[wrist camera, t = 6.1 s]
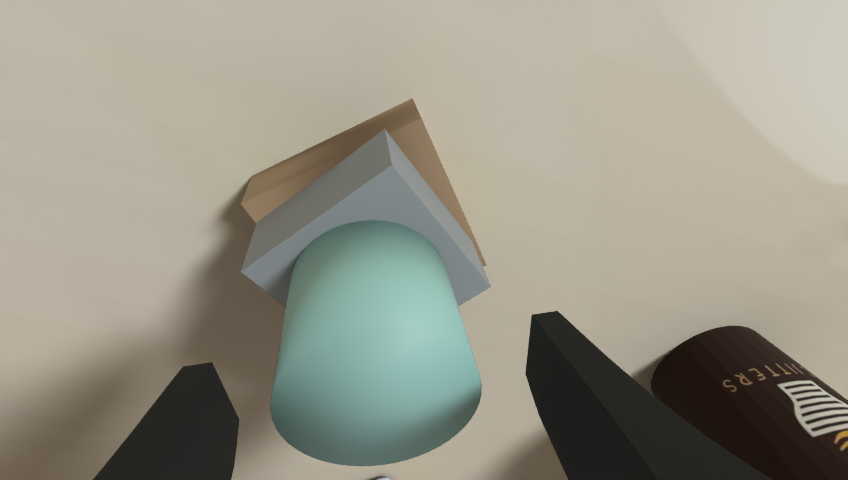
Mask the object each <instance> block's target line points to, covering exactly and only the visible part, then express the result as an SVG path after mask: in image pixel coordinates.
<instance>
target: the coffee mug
mask: <svg viewBox="0 0 848 480" xmlns="http://www.w3.org/2000/svg"><path fill="white" fill-rule="evenodd" d="M651 388H652V391H653V394H654V396H655V397H656V398H657V399H658V400H659V401H661V402H662V403H663V404H664V405H666V406H667V407H668V408H670V409H671V410H672V411H673V412H675V413H676V414H677V415H679V416H680V417H681V418H683V419H684V420H685V421H687V422H688V423H689V424H691V425H692V426H693V427H695V428H696V429H697V430H699V431H700V432H702V433H703V434H704V435H706V436H707V437H709V438H710V439H712V440H713V441H714V442H716V443H717V444H719V445H720V446H722V447H723V448H725V449H726V450H727V451H729V452H730V453H732V454H733V455H735V456H736V457H738V458H739V459H741V460H742V461H744V462H745V463H747V464H749V465H750V466H752V467H753V468H755V469H756V470H758V471H759V472H761V473H763V474H764V475H766V476H768V477H769V478H771V479H773V480H848V400H847V399H845V398H844V397H843V396H841V395H840V394H839V393H837V392H836V391H834V390H833V389H832V388H830V387H829V386H828V385H826V384H825V383H824V382H822V381H821V380H820V379H818V378H817V377H816V376H814V375H813V374H812V373H810V372H809V371H808V370H806V369H805V368H804V367H802V366H801V365H800V364H798V363H797V362H796V361H794V360H793V359H792V358H790V357H789V356H788V355H786V354H785V353H784V352H782V351H781V350H780V349H778V348H777V347H776V346H774V345H773V344H772V343H770V342H769V341H768V340H766V339H765V338H764V337H762V336H761V335H760V334H758V333H757V332H756V331H754V330H752V329H750V328H748V327H742V326H726V327H720V328H716V329H712V330H709V331H706V332H704V333H701V334H699V335H697V336H694V337H693V338H691V339H689V340H687V341H685V342H684V343H682V344H681V345H679V346H678V347H677V348H675V349H674V350H673V351H672V352H671V353H669V354H668V355H667V356H666V357H665V358H664V359H663V361H662V362H661V363H660V364H659V366H658V367H657V369H656V371H655V372H654V375H653V378H652V383H651Z"/></svg>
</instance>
